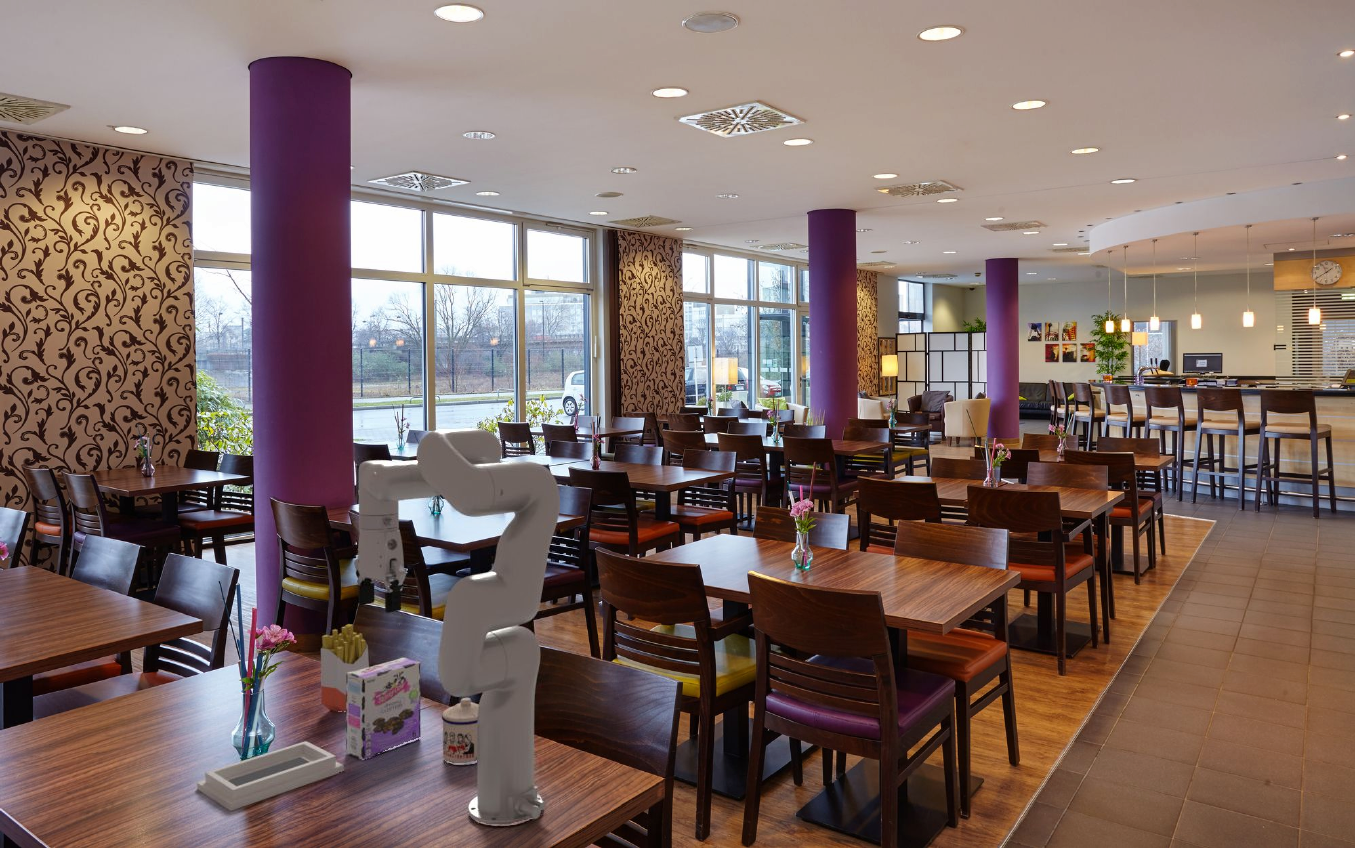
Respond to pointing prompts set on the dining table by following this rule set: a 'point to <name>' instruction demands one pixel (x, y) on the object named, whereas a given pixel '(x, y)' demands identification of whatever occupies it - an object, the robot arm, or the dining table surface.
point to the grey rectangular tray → (268, 775)
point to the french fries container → (340, 665)
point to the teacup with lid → (460, 732)
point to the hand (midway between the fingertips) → (379, 607)
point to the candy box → (382, 707)
